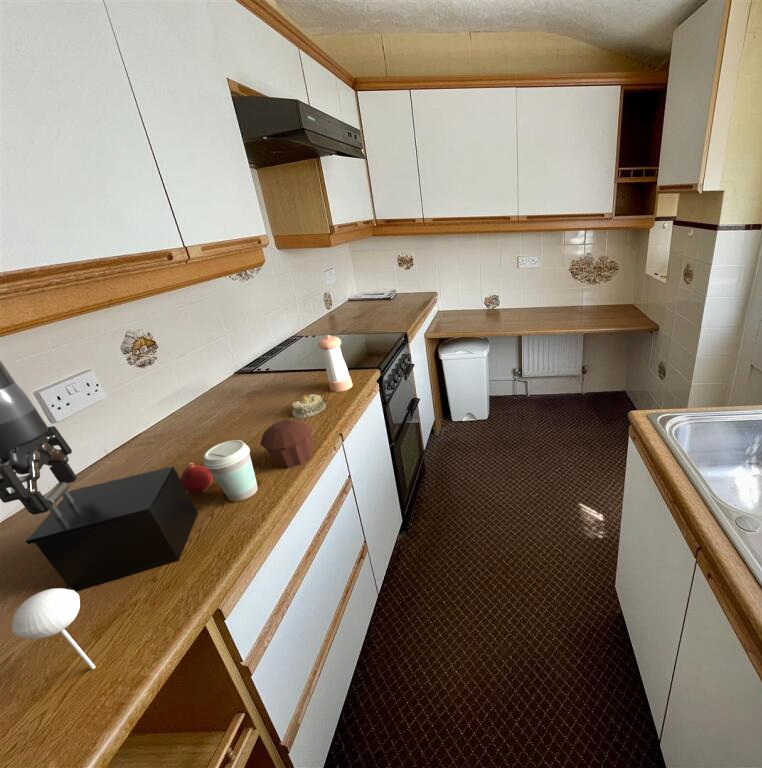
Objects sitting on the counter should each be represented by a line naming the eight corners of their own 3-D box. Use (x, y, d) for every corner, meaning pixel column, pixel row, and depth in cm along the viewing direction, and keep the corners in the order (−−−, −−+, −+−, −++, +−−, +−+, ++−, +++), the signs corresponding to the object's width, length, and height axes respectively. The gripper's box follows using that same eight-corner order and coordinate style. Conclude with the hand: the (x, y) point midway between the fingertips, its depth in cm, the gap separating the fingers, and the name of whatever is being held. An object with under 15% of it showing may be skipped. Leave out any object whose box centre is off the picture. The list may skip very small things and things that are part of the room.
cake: (333, 407, 130) (330, 392, 128) (307, 422, 122) (303, 407, 120) (312, 399, 134) (308, 385, 132) (285, 414, 126) (280, 399, 124)
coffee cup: (219, 492, 93) (198, 449, 88) (260, 476, 98) (243, 434, 93) (224, 512, 87) (202, 466, 82) (268, 493, 92) (250, 449, 87)
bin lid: (27, 544, 65) (9, 521, 63) (71, 494, 77) (57, 472, 75) (151, 512, 71) (137, 489, 69) (174, 469, 82) (164, 448, 80)
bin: (72, 592, 71) (34, 543, 66) (107, 538, 82) (77, 492, 77) (178, 560, 76) (151, 512, 71) (197, 513, 87) (175, 469, 82)
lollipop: (77, 698, 55) (12, 627, 49) (55, 682, 57) (-11, 612, 51) (130, 654, 60) (77, 584, 54) (107, 641, 62) (54, 572, 56)
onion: (203, 501, 91) (189, 472, 88) (181, 499, 92) (166, 471, 88) (223, 484, 96) (210, 456, 93) (202, 483, 97) (189, 455, 94)
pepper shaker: (356, 386, 142) (343, 334, 134) (336, 393, 138) (321, 340, 130) (346, 381, 147) (333, 330, 139) (327, 388, 142) (312, 336, 134)
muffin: (323, 442, 110) (313, 410, 106) (312, 467, 100) (300, 432, 96) (277, 448, 109) (265, 416, 105) (261, 474, 99) (247, 439, 95)
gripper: (-3, 402, 68) (51, 479, 75) (-72, 444, 56) (0, 531, 63) (55, 391, 70) (102, 467, 78) (0, 430, 59) (61, 515, 66)
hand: (56, 496), depth 70 cm, fingers open, 8 cm apart
